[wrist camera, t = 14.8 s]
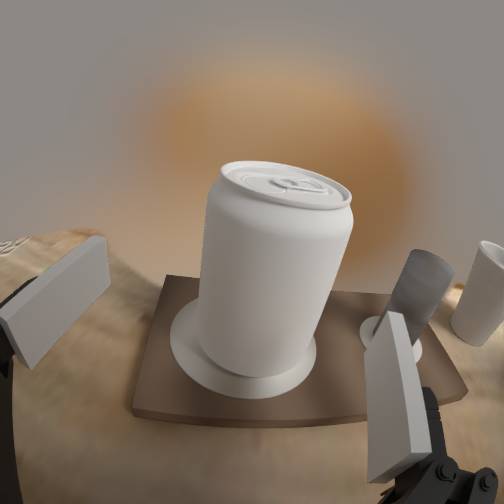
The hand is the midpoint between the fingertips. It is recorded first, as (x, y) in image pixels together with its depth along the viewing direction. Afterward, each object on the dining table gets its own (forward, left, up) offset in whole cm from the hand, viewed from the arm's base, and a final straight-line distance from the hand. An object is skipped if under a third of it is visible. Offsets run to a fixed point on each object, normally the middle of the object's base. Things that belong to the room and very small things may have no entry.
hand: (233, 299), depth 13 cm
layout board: (-8, -6, -9) cm, 13 cm away
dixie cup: (-29, -8, -9) cm, 31 cm away
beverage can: (-2, -5, -8) cm, 10 cm away
